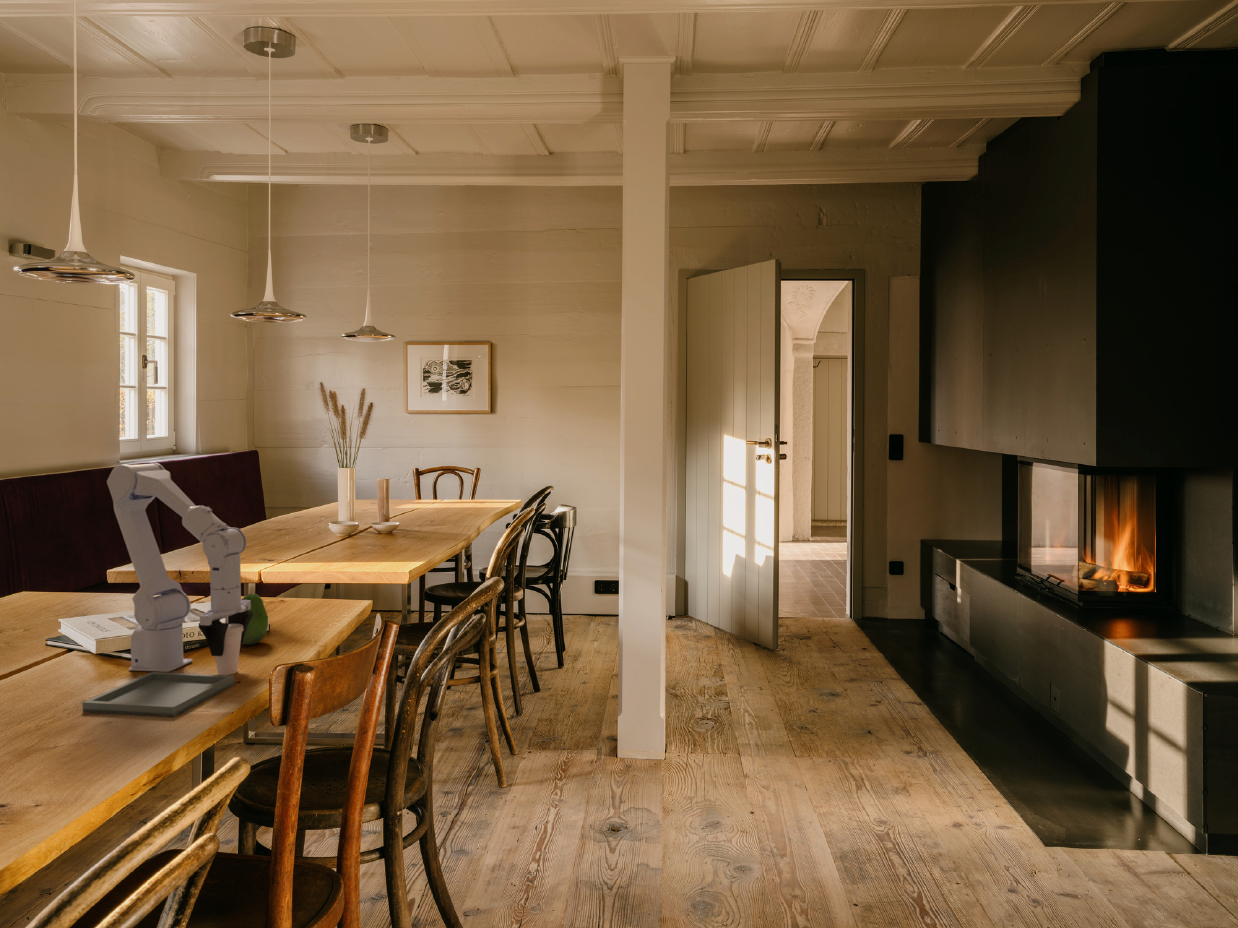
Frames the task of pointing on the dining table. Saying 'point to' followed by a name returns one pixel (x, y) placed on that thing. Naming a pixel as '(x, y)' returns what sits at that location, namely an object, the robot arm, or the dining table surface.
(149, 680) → the tray
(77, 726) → the dining table surface
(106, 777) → the dining table surface
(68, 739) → the dining table surface
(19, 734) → the dining table surface
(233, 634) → the smoothie
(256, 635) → the avocado
